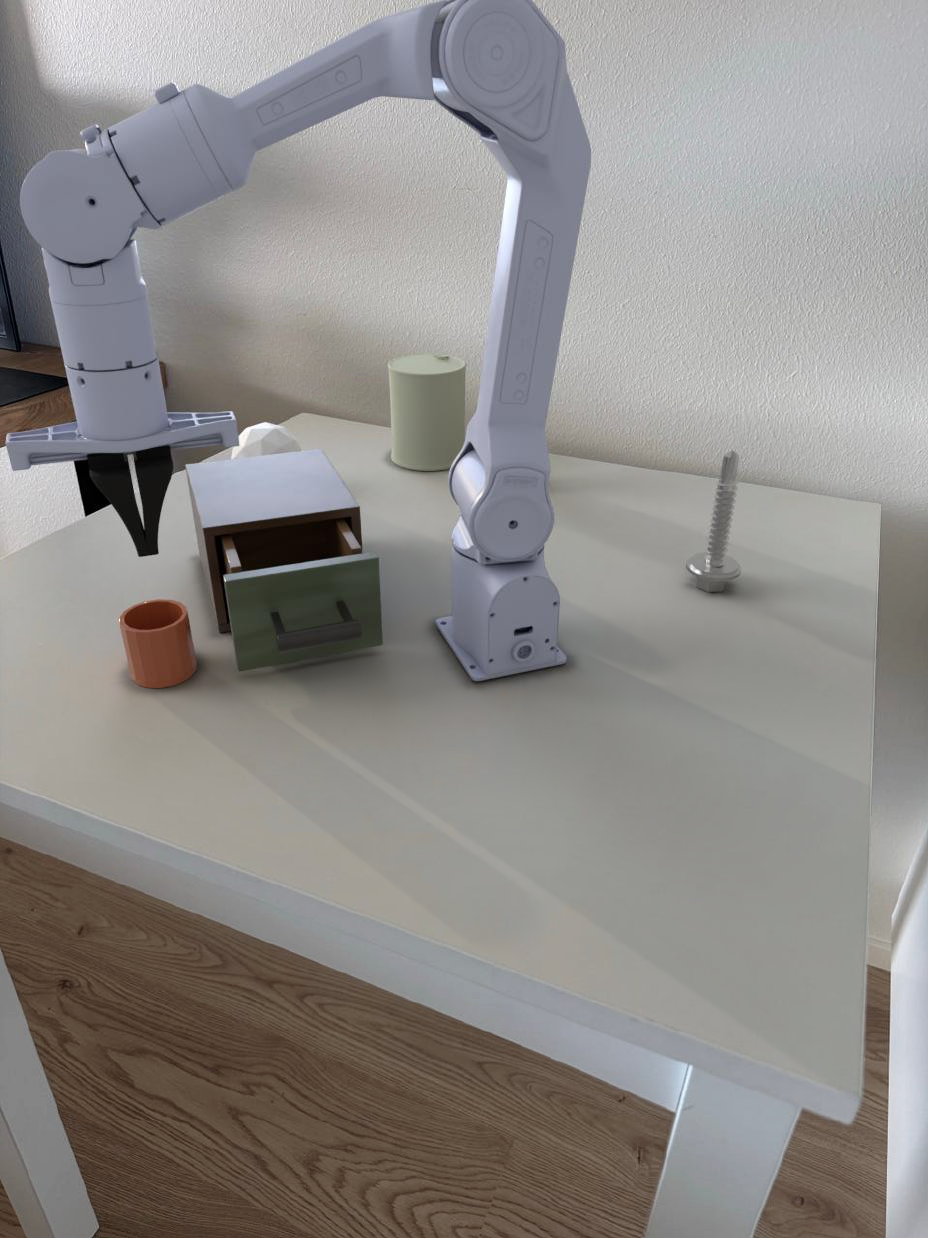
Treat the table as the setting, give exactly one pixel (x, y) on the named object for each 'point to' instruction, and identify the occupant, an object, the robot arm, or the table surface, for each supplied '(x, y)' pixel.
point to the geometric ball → (265, 441)
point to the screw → (718, 534)
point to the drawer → (299, 593)
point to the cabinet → (262, 504)
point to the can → (427, 410)
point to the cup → (158, 643)
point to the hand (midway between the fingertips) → (147, 550)
